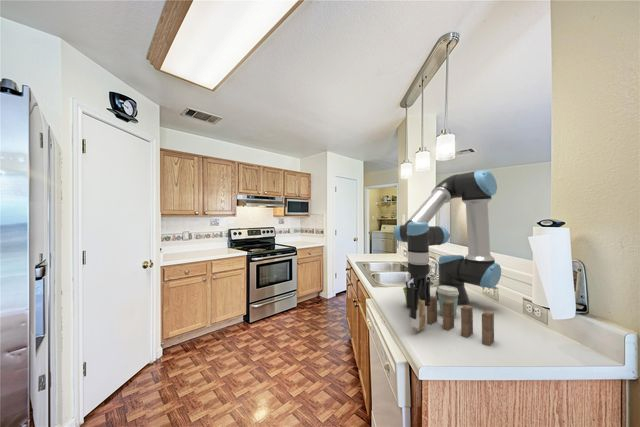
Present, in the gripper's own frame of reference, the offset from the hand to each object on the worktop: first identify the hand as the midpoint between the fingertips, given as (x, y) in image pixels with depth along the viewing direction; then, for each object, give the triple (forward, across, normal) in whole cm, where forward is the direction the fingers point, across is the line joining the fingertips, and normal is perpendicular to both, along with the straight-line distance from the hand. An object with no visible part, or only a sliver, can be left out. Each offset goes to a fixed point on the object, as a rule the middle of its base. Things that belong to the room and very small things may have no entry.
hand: (419, 324), depth 87 cm
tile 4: (+3, -12, +5) cm, 13 cm away
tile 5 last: (+3, -12, -1) cm, 12 cm away
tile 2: (+3, -12, +18) cm, 22 cm away
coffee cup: (+3, -24, 0) cm, 24 cm away
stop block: (+3, -12, -7) cm, 14 cm away
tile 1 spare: (+1, 0, 0) cm, 1 cm away
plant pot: (+3, -20, -14) cm, 24 cm away
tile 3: (+3, -12, +12) cm, 17 cm away
